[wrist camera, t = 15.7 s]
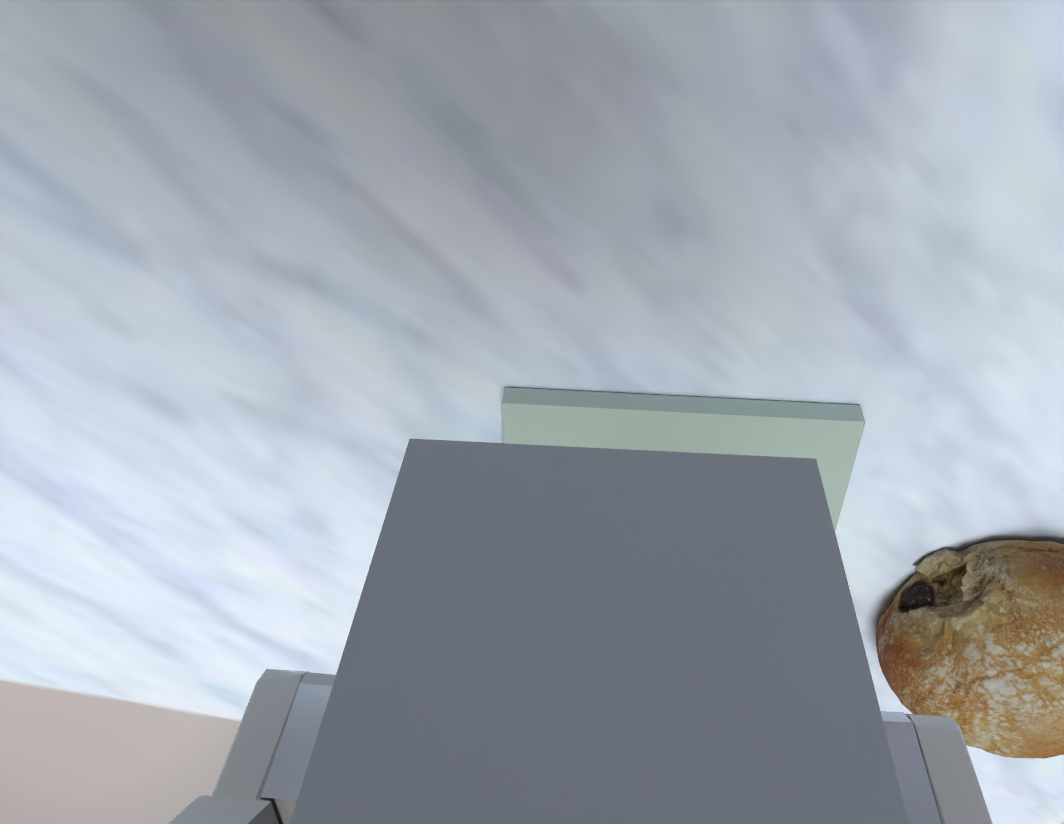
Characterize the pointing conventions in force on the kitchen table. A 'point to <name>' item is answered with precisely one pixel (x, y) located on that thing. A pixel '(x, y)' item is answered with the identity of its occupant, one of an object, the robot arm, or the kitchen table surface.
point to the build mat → (691, 427)
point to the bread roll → (983, 644)
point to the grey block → (602, 649)
